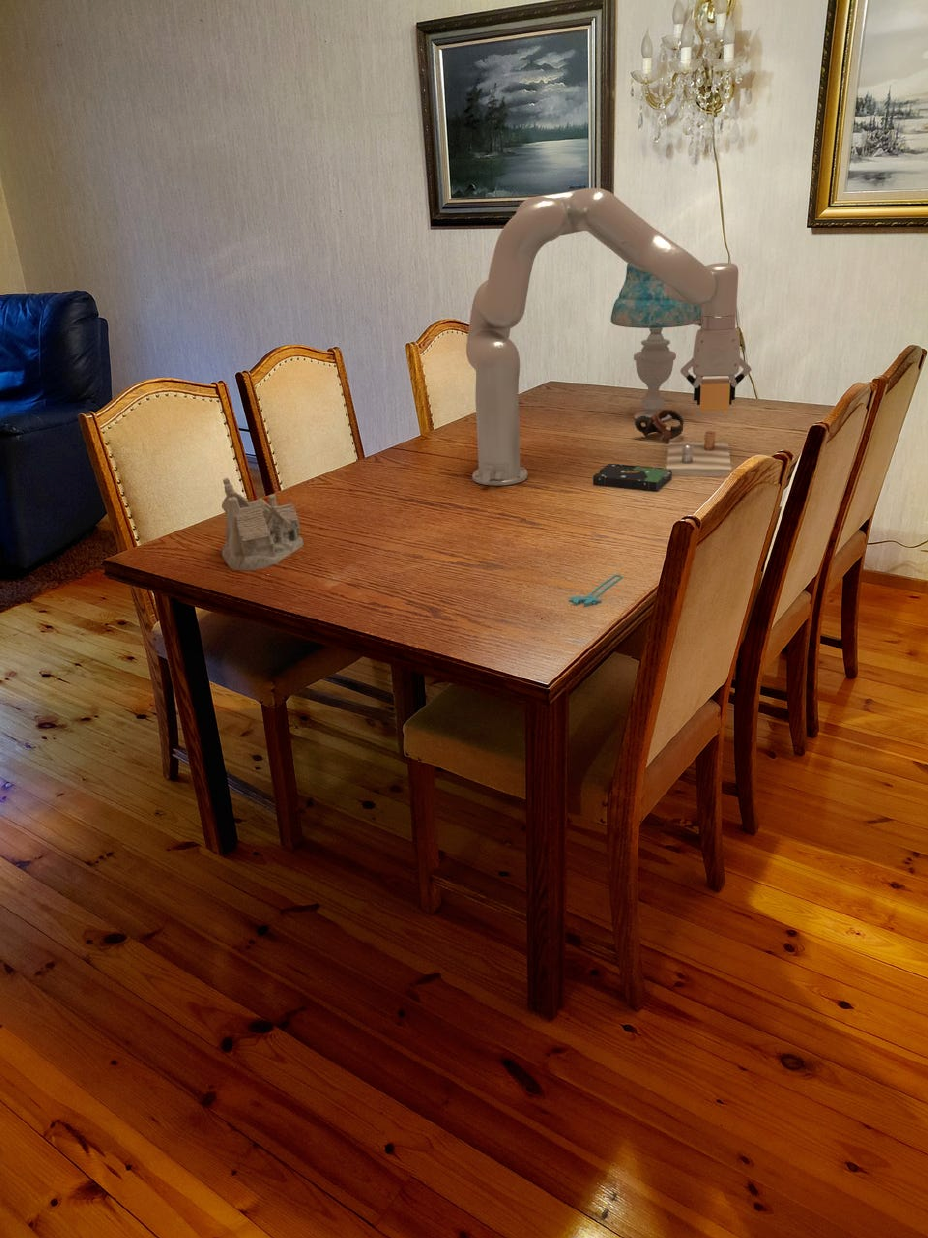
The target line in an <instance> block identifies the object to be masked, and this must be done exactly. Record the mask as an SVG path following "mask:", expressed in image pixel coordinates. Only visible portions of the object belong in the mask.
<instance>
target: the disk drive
mask: <svg viewBox="0 0 928 1238" xmlns="http://www.w3.org/2000/svg"><path fill="white" fill-rule="evenodd" d="M672 477H673V476H672V472H671V470H668V469H665V468H663V467H662V468H661V467H649V466H639V465H629V464H620V463H608V464H607V465H605V466H604V467H602V468H601V469H599V472H596V473H594V474H593V475H592V485H593V486H596V487H605V488H607V487H608V488H613V489H614V488H615V489H623V488H624V489H626V490H634V491H643V492H651V493H658V492H660V490H661V489H663V488H664V487H665V486H666V485H667V484H668V483H669V482H670V481H671V480H672Z"/></svg>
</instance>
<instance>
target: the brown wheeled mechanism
mask: <svg viewBox="0 0 928 1238" xmlns="http://www.w3.org/2000/svg"><path fill="white" fill-rule="evenodd" d="M668 414H669V415H670V416H671V420H674V421H678V423H679V424H678V425H676V426H674V425H670V428H669V429H670V430H669V429H667V424H666V423H664V421H663V422H662V421H661V419H662V418H665V417H666V416H667V415H668ZM684 422H685V421H684V418H683V417H682V415H680V414H679V413H678V412H676V411H674V410H672V409H667V408H663V409H661V410H659V411H658V412H657V414H654V415H653V416H651V417H647V416H640V417H638V418H637V419H635V421H634V426H635V428H636V430H637V431H638V432H640V433H642V434H643V436H644V437H646V438H647V437H648V436H649V435H650V434H654V433H656V434H662V437H661V439H660V441H661V442H662V443H665V444H667V443H669V442H670V440H673V439H674V438H675V439H676V438H677V437H679V436H681V434H682V432H683V431H684V424H685V423H684ZM642 423H643V424H644V426H643V425H642Z"/></svg>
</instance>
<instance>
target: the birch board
mask: <svg viewBox="0 0 928 1238" xmlns="http://www.w3.org/2000/svg"><path fill="white" fill-rule="evenodd" d="M683 444H693V445H694V446H693V462H692V463H690V464H684V463H682V447H683ZM666 469H668V470H671V472H672V477H673V476H674V477H675V476H676V477H679V476H680V477H682V476H683V477H724V478H725V477H727V476H728V475H729V474H730V473H731V474H732V465H731V455H730V448H729V443H727V442H715V449H714V450H712V451H707V450H704V442H668V446H667V456H666Z"/></svg>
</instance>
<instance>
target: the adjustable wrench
mask: <svg viewBox="0 0 928 1238" xmlns="http://www.w3.org/2000/svg"><path fill="white" fill-rule="evenodd" d="M616 577H617V579H616V580H614V579H615V578H616ZM622 579H623V576H622V575H621V574H614V575H612V576H611V577H610V578H608V579H607V580H606V581H604V582H603V583H602V584H600V585H598V587H597V588H595V589H594V590H593V591H591V592H590V593H588V594H586V595H584V596H583V595H582V596H580V595H575V596H570V597H569V599H568V602H570V603H572V605H574V606H576V607H577V606H579V604H583V607H590V606H596V605H598V604H602V599H598V598H599V597H600V596H601V595H602V594H604V593H605V592H606V591H608V590H609V589H610V588H612V587H613V586H614V585H615V584H617V583H618V582H619V581H621V580H622ZM595 593H598V594H597V595H596V594H595ZM593 594H595V595H593Z"/></svg>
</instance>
